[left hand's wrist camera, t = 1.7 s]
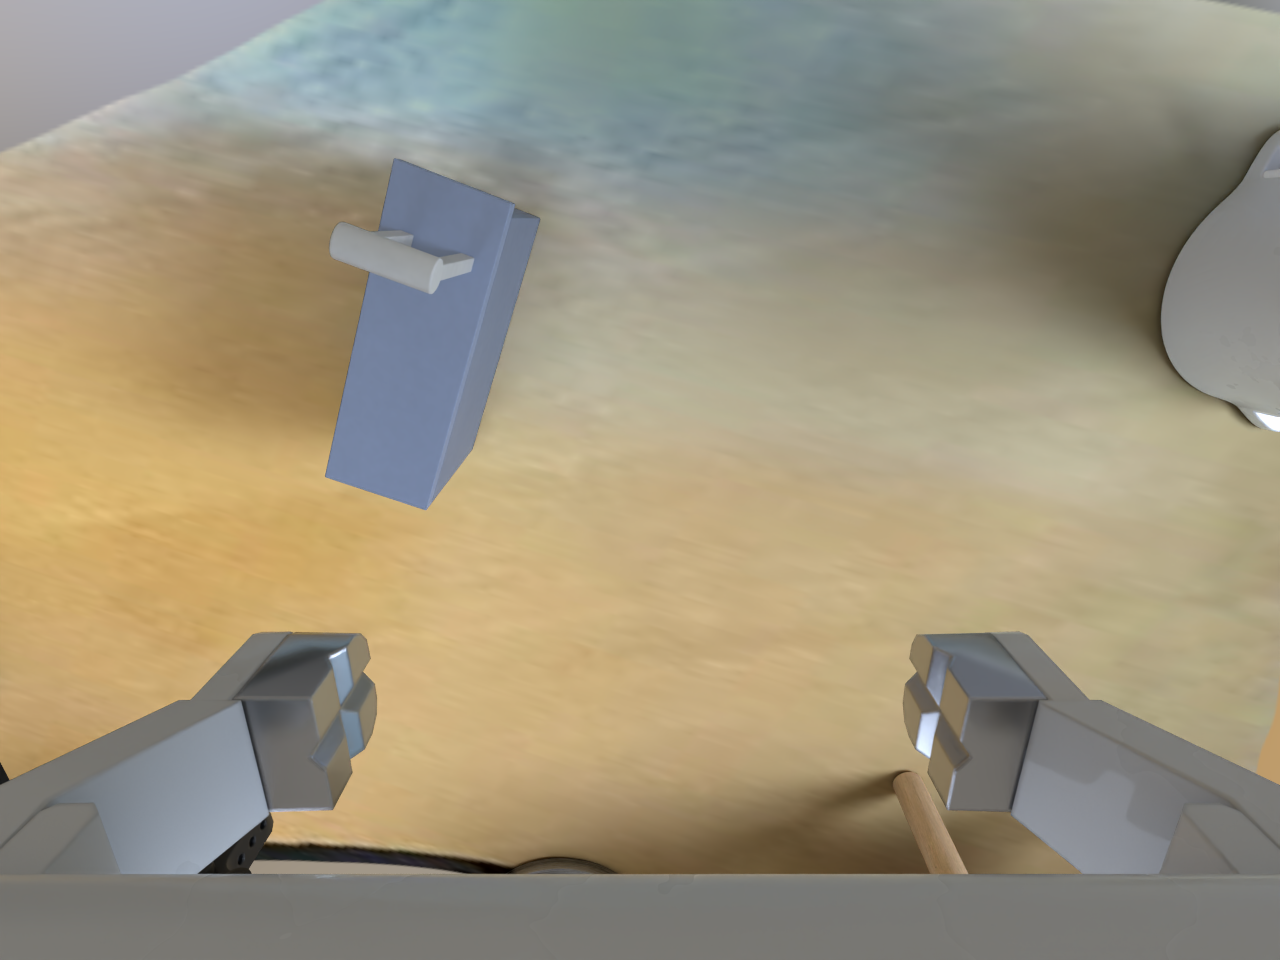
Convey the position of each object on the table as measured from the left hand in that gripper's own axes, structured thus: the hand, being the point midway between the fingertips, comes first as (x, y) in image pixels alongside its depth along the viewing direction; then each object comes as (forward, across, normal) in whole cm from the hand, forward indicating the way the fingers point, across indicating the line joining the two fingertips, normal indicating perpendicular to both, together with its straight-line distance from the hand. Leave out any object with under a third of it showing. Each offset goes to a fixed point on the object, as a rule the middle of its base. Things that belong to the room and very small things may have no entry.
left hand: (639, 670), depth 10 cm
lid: (+27, +11, 0) cm, 29 cm away
